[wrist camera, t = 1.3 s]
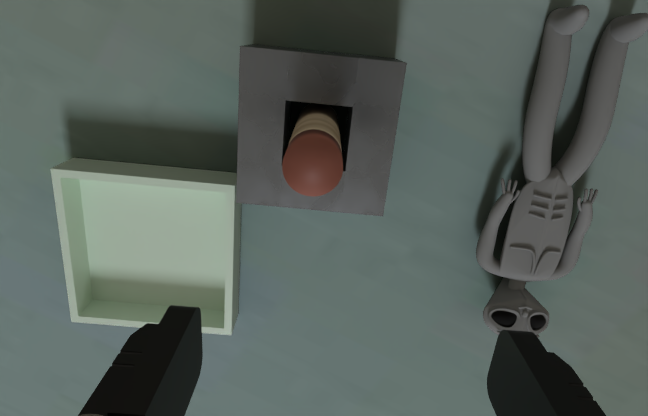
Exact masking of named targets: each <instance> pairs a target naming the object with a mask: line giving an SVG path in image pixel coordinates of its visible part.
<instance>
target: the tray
mask: <svg viewBox="0 0 648 416" xmlns="http://www.w3.org/2000/svg"><path fill="white" fill-rule="evenodd" d="M51 175H52V182H53V189H54V197H55V204H56V211H57V219H58V226H59V233H60V241H61V248H62V255H63V263H64V270H65V277H66V285H67V292H68V299H69V307H70V314H71V321H72V322H79V323H91V324H103V325H115V326H127V327H139V328H141V327H143V326H144V325H145V324H147V323H151V324H159V323H160V321H161V319H162V318H163V316H164V314H165V312H166V311H167V309H168V307H169V306H171V305H175V306H189V307H199V308H200V310H201V326H202V333H211V334H223V335H232V332H233V329H234V326H235V323H236V320H237V317H238V311H239V276H240V241H241V206H242V203H236V193H237V173H233V172H222V171H212V170H201V169H190V168H180V167H169V166H158V165H147V164H137V163H126V162H115V161H104V160H94V159H83V158H72V159H70V160H67V161H65V162H63V163H61V164H59V165H57V166H55V167H53V168H51Z"/></svg>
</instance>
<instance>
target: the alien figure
mask: <svg viewBox="0 0 648 416" xmlns="http://www.w3.org/2000/svg"><path fill="white" fill-rule="evenodd" d="M588 17H589V9H588V8H587V6H585V5H576V6H570V7H566V8H557V9H556V10H554V11H552V12H551V13H550V14H549V16H548V18H547V20H546V23H545V28H544V33H543V39H542V45H541V50H540V56H539V61H538V66H537V71H536V75H535V79H534V84H533V88H532V92H531V96H530V100H529V104H528V108H527V113H526V118H525V124H524V131H523V143H522V158H523V169H524V176H525V180H526V185H525V186H524V187H523V188H522V189H521V190H517V192H516V194H515V195H514V197H513V194H514V191H515V189H516V186H517V180H515V181H514V185H513V188H512V190H511V191H510V187H511V179H509V180H508V185H507V191H505V183H504V179H503V178H502V179H501V185H502V192H503V194H502V195H501V196H500V198H499V199H498V200H497V201H496V202H495V204H494V205H493V207H492V209H491V210H490V213H489V215H488V218H487V221H486V223H485V225H484V227H483V230H482V232H481V234H480V237H479V240H478V243H477V248H476V258H477V261H478V263H479V264H480V266H481V267H482V268H483V269H485V270H486V271H488V272H490V273H492V274H495V275H498V276H501V277H504V278H503V279H502V281H501V283H500V284H499V286H498V287H497V289H496V291H495V292H494V294H493V295H492V297H491V299H490V300H489V302H488V304H487V305H486V307H485V308H484V311H483V318H484V322H485V323H486V325H487V326H488V327H489V328H490V329H491V330H492V331H493V332H495V333H496V334H498V335H499V333H500V332H501V331H502V330H515V331H529V332H533V333H534V334H535V335H536V336H537V338H538V337H539V335H537V334H539V333H541V332H542V331H544V330H545V329H546V328H547V326H548V323H549V313H548V311H547V310H546V309H545V308H544V307H543V306H542V305H541V304H540V303H539V302H538V301H537V300H536V299H535V298H534V297H533V296H532V295H531V294H530V293H529V292H528V291H527V290H526V289H525V284H526V282H528V281H544V280H554V279H558V278H561V277H563V276H565V275H567V274H568V273H569V272H570V271H571V270H572V269H573V268H574V267H575V265H576V263H577V261H578V258H579V255H580V251H581V246H582V241H583V238H584V235H585V233H586V232H587V230H588V228H589V226H590V224H591V221H592V216H593V209H592V204H593V202H594V200H595V198H596V196H597V193H598V190H597V189H596V190H595V191H594V194H593V189H590V194H589V197H588V200H587V196H588V189H585V190H584V199H583V201H582V203H581V197H578V200H577V205H578V209H579V212H578V215H577V218H576V221H575V223H574V225H573V227H572V229H571V231H570V233H569V235H568V237H567V234H568V230H569V226H570V221H571V215H572V208H573V189H572V187H571V185H573V184H574V183H575V182H576V181H577V180H578V179H579V178H580V177H581V175H582V174H583V173H584V172H585V171H586V170H587V168H588V167H589V166H590V165H591V163H592V162H593V160H594V159H595V157H596V156H597V154H598V152H599V151H600V149H601V147H602V145H603V143H604V141H605V139H606V136H607V134H608V131H609V129H610V126H611V122H612V119H613V115H614V111H615V107H616V102H617V97H618V92H619V87H620V82H621V77H622V72H623V67H624V62H625V58H626V53H627V49H628V44H629V42H631V41H634V40H636V39H638V38H639V37H641V36H642V35H643V34H644V33H645V32H646V31H647V30H648V14H647V13H637V14H631V15H627V16H620V17H617V18H614V19H613V20H612V21H611V22H610V23H609V24H608V25H607V27H606V28H605V30H604V32H603V34H602V36H601V39H600V41H599V44H598V47H597V50H596V53H595V56H594V60H593V63H592V67H591V71H590V75H589V79H588V84H587V88H586V93H585V98H584V103H583V108H582V112H581V116H580V120H579V123H578V126H577V129H576V132H575V134H574V136H573V139H572V141H571V143H570V145H569V146H568V148H567V150H566V151H565V153H564V154H563V156H562V157H561V159H560V160H559V161H558V162H557V164H556V165H555V166H554V167H551V151H552V141H553V134H554V128H555V123H556V118H557V114H558V110H559V106H560V102H561V98H562V94H563V90H564V86H565V81H566V76H567V71H568V65H569V58H570V50H571V38H572V34H574V33H575V32H577V31H578V30H580V29H581V28H582V27H583V26H584V25H585V23H586V21H587V19H588ZM592 195H593V197H592ZM515 199H516V200H515ZM514 200H515V203H514V206H513V209H512V212H511V216H510V220H509V224H508V228H507V232H506V236H505V240H504V244H503V248H502V252H501V256H500V260H498V259H496V258H494V256H493V251H494V247H495V242H496V237H497V232H498V227H499V224H500V222H501V220H502V218H503V216H504V215H505V213H506V211H507V209H508V207H509V205H510V203H512V202H513V201H514ZM566 238H567V239H566Z"/></svg>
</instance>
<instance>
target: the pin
mask: <svg viewBox="0 0 648 416" xmlns="http://www.w3.org/2000/svg"><path fill="white" fill-rule="evenodd" d="M282 171H283V175H284V178H285V180H286V182H287V183H288V185H289V186H290V187H291V188H292V189H293V190H295V191H296V192H298V193H300V194H302V195H305V196H321V195H324V194H326V193H328V192H330V191H331V190H333V189H334V188H335V187H336V186H337V185H338V183H339V181H340V179H341V177H342V174H343V159H342V150H341V141H340V132H339V123H338V117H337V114H336V112H335V111H334V109H333V108H332V107H331V106H329V105H328V104H317V103H310V104H308V105H307V106H305V107H304V108H303V109H302V110H301V112H300V114H299V117H298V120H297V122H296V125H295V128H294V131H293V133H292V136H291V139H290V142H289V144H288V147H287V150H286V153H285V155H284V158H283V163H282Z"/></svg>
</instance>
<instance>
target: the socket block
mask: <svg viewBox="0 0 648 416" xmlns="http://www.w3.org/2000/svg"><path fill="white" fill-rule="evenodd" d="M406 65H407V63H406V62H403V61H400V60H398V59H394V58H384V57H374V56H364V55H355V54H345V53H335V52H325V51H315V50H305V49H295V48H285V47H275V46H265V45H255V44H252V45H244V46H240V67H239V109H238V151H237V193H236V203H245V204H255V205H266V206H277V207H288V208H299V209H310V210H321V211H332V212H343V213H354V214H365V215H376V216H383V212H384V206H385V200H386V193H387V187H388V180H389V174H390V167H391V161H392V155H393V148H394V142H395V135H396V129H397V122H398V116H399V110H400V103H401V97H402V90H403V84H404V77H405V71H406ZM291 101H297V102H307V103H317V104H328V105H338V106H348V113H347V122H346V131H345V140H344V149H343V153H342V159H343V174H342V177H341V179H340V181H339V183H338V185H337V186H336V187H335V188H334V189H333V190H331V191H330V192H328V193H326V194H324V195H321V196H305V195H302V194H300V193H298V192H296V191H295V190H293V189H292V188H291V187H290V186H289V185H288V183H287V182H286V180H285V178H284V175H283V171H282V163H283V158H284V155H285V153H286V150H287V147H288V141H289V126H290V111H291Z"/></svg>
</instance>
